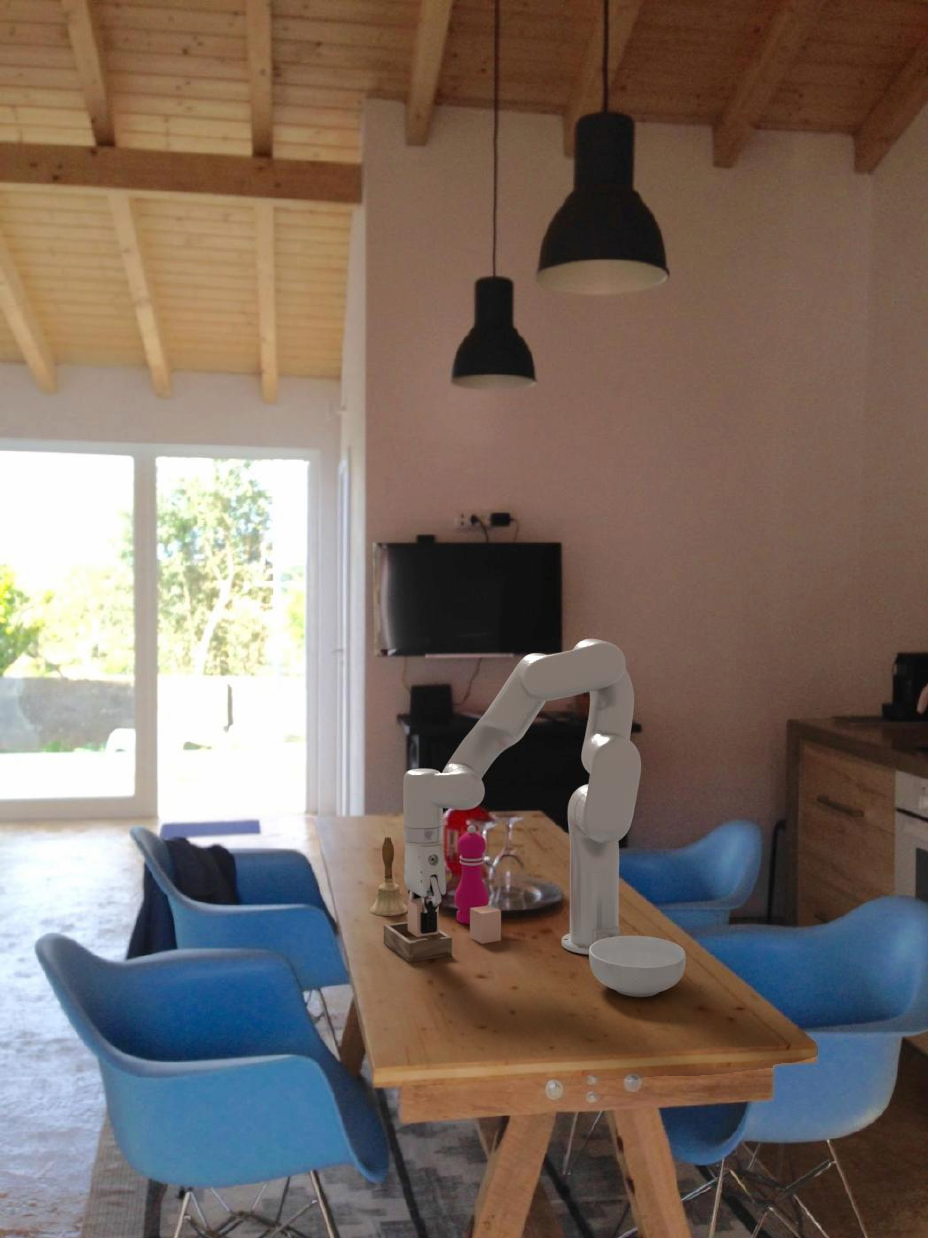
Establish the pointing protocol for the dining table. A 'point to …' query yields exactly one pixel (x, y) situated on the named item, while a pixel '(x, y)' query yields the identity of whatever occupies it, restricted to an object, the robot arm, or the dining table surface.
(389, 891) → the hand bell
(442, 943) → the walnut crate
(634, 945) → the cereal bowl
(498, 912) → the pale pink block
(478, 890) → the pepper mill
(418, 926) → the pale pink block
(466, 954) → the dining table surface
